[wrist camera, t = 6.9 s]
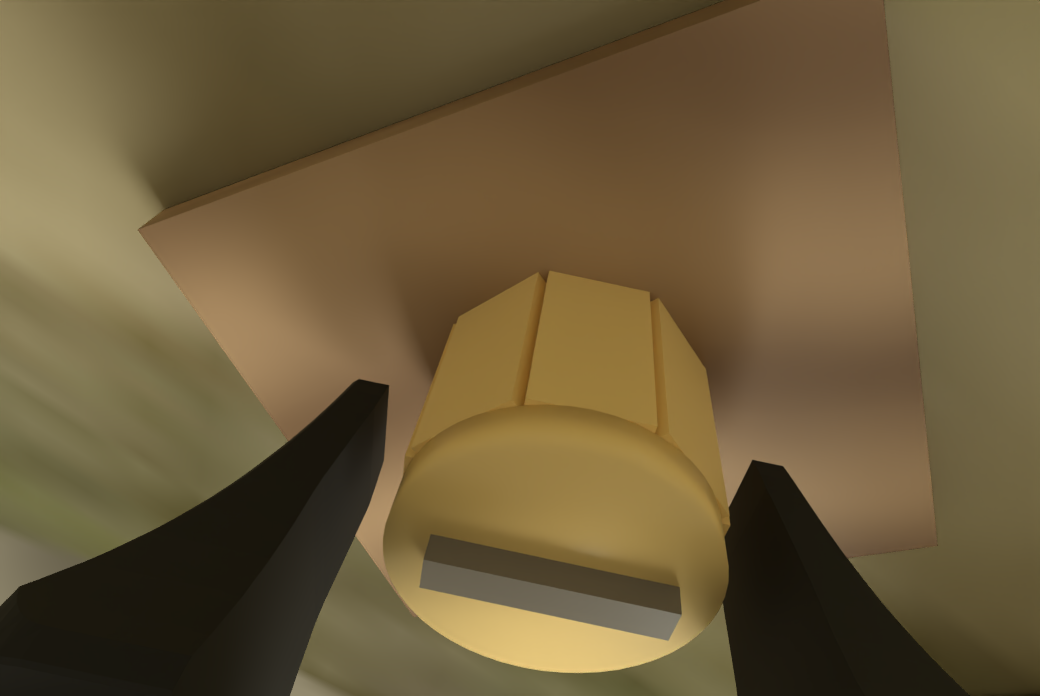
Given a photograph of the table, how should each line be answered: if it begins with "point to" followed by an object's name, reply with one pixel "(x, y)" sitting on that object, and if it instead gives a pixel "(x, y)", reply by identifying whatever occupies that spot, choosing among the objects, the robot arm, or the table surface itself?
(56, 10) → the table surface
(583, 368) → the cap
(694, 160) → the post board
